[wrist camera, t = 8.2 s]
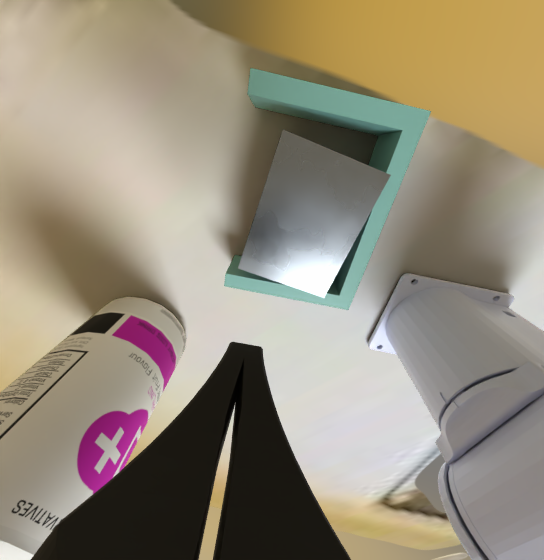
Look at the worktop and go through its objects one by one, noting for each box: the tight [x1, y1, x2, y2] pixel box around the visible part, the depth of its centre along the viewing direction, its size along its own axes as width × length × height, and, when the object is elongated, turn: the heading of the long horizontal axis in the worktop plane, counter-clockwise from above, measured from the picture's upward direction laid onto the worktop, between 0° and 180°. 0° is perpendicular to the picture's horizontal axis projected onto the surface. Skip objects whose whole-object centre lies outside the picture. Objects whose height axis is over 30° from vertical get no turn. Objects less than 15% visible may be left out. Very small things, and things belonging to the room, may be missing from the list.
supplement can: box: [0, 297, 186, 560], centre depth 17 cm, size 8×8×15 cm
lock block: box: [238, 129, 391, 298], centre depth 16 cm, size 6×8×4 cm
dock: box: [224, 68, 431, 310], centre depth 16 cm, size 9×12×4 cm
